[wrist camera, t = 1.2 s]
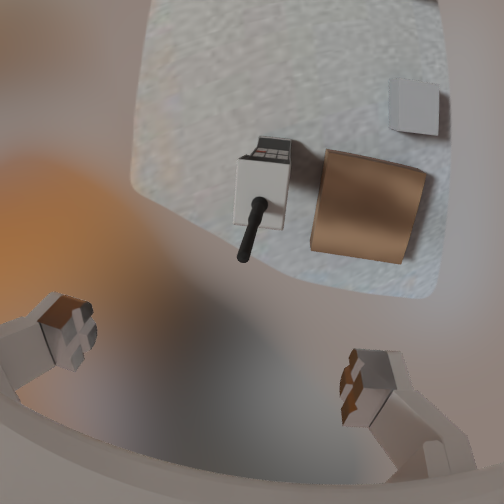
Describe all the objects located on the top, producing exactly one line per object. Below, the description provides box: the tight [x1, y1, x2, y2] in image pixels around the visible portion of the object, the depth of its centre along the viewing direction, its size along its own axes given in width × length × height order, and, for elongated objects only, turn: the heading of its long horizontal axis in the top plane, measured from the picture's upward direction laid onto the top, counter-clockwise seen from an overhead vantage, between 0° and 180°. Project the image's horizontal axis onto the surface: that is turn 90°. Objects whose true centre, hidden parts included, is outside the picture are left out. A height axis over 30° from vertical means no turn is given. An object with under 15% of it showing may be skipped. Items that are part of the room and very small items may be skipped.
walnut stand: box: [310, 149, 426, 264], centre depth 37 cm, size 12×12×3 cm
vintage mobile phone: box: [233, 136, 291, 263], centre depth 26 cm, size 4×5×25 cm
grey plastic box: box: [389, 78, 439, 136], centre depth 30 cm, size 6×5×4 cm
